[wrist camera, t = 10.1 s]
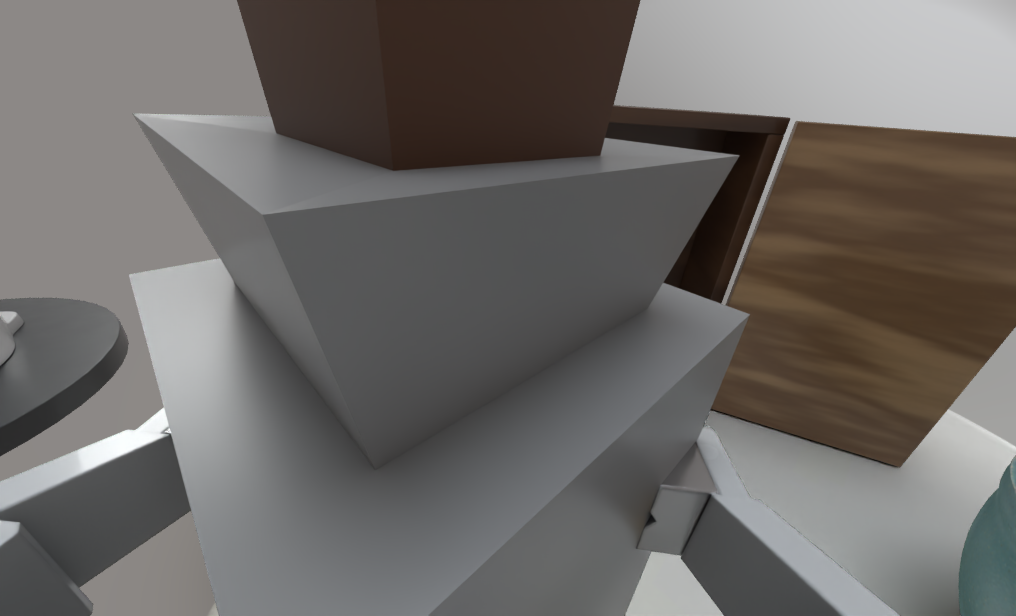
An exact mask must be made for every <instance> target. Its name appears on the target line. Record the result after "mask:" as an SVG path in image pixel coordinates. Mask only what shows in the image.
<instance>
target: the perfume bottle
mask: <svg viewBox="0 0 1016 616" xmlns="http://www.w3.org/2000/svg"><path fill="white" fill-rule="evenodd" d="M237 2H238V5H239V9H240V12H241V15H242V19H243V22H244V26H245V29H246V32H247V36H248V39H249V43H250V46H251V49H252V53H253V56H254V60H255V63H256V66H257V70H258V73H259V77H260V80H261V83H262V87H263V90H264V94H265V97H266V100H267V104H268V107H269V111H270V114H271V116H223V115H222V116H221V115H218V116H217V115H173V114H172V115H171V114H169V115H168V114H133V115H134V117H135V119H136V120H137V122H138V123H139V125H140V127H141V128H142V130H143V132H144V134H145V135H146V137H147V138H148V140H149V142H150V143H151V145H152V146H153V148H154V150H155V152H156V153H157V155H158V157H159V158H160V160H161V162H162V163H163V165H164V166H165V168H166V170H167V171H168V173H169V175H170V176H171V178H172V180H173V181H174V183H175V185H176V186H177V188H178V190H179V191H180V193H181V195H182V196H183V198H184V199H185V201H186V202H187V204H188V206H189V208H190V209H191V211H192V213H193V214H194V216H195V218H196V219H197V221H198V222H199V224H200V226H201V228H202V229H203V231H204V233H205V234H206V236H207V237H208V239H209V241H210V242H211V244H212V246H213V247H214V249H215V251H216V252H217V254H218V255H219V257H220V259H215V260H208V261H203V262H197V263H191V264H186V265H180V266H174V267H169V268H163V269H158V270H152V271H146V272H140V273H135V274H129V277H130V281H131V284H132V288H133V292H134V296H135V300H136V303H137V307H138V310H139V314H140V318H141V322H142V326H143V330H144V333H145V337H146V341H147V345H148V349H149V352H150V356H151V360H152V364H153V368H154V371H155V375H156V379H157V383H158V387H159V390H160V394H161V398H162V402H163V405H164V409H165V413H166V417H167V421H168V424H169V428H170V432H171V436H172V439H173V443H174V447H175V451H176V455H177V458H178V462H179V466H180V470H181V473H182V477H183V481H184V485H185V489H186V492H187V496H188V500H189V504H190V508H191V511H192V515H193V519H194V522H195V526H196V530H197V534H198V538H199V542H200V545H201V549H202V553H203V557H204V560H205V564H206V568H207V572H208V576H209V579H210V583H211V587H212V591H213V594H214V598H215V602H216V606H217V610H218V613H219V616H625V614H626V611H627V609H628V606H629V604H630V602H631V599H632V597H633V594H634V592H635V590H636V587H637V585H638V582H639V580H640V578H641V575H642V573H643V570H644V568H645V566H646V563H647V561H648V558H649V556H650V554H651V551H646V550H639V549H636V547H637V544H638V542H639V539H640V536H641V534H642V531H643V528H644V526H645V525H646V523H647V521H648V519H649V518H650V516H651V512H650V510H651V507H652V505H653V502H654V500H655V497H656V494H657V492H658V489H659V487H660V485H661V484H662V483H663V481H664V480H665V479H666V478H667V476H668V475H669V474H670V473H671V471H672V470H673V469H674V468H675V466H676V465H677V464H678V463H679V461H680V460H681V459H682V458H683V456H684V455H685V454H686V453H687V451H688V450H689V449H690V448H691V447H692V445H693V444H694V443H695V442H696V440H697V439H698V438H699V436H700V433H701V431H702V429H703V426H704V424H705V421H706V419H707V417H708V414H709V412H710V409H711V407H712V405H713V402H714V400H715V397H716V395H717V393H718V390H719V388H720V385H721V383H722V380H723V378H724V376H725V373H726V371H727V368H728V366H729V364H730V361H731V359H732V356H733V354H734V352H735V349H736V347H737V344H738V342H739V340H740V337H741V335H742V332H743V330H744V328H745V325H746V323H747V320H748V318H749V316H750V314H748V313H745V312H742V311H739V310H737V309H734V308H731V307H728V306H726V305H723V304H720V303H717V302H715V301H712V300H709V299H706V298H704V297H701V296H698V295H696V294H693V293H690V292H687V291H685V290H682V289H679V288H676V287H674V286H671V285H668V284H665V283H663V282H664V281H665V279H666V277H667V276H668V274H669V272H670V271H671V269H672V267H673V266H674V264H675V262H676V261H677V259H678V257H679V256H680V254H681V252H682V251H683V249H684V247H685V246H686V244H687V242H688V241H689V239H690V237H691V236H692V234H693V232H694V231H695V229H696V227H697V226H698V224H699V222H700V221H701V219H702V217H703V216H704V214H705V212H706V211H707V209H708V207H709V206H710V204H711V202H712V201H713V199H714V197H715V196H716V194H717V192H718V191H719V189H720V187H721V186H722V184H723V182H724V181H725V179H726V177H727V176H728V174H729V172H730V171H731V169H732V167H733V166H734V164H735V162H736V161H737V159H738V157H739V155H732V154H724V153H716V152H709V151H701V150H693V149H686V148H678V147H670V146H663V145H655V144H648V143H640V142H632V141H625V140H617V139H609V138H605V136H606V132H607V128H608V124H609V120H610V116H611V112H612V108H613V105H614V100H615V97H616V93H617V89H618V85H619V81H620V77H621V73H622V70H623V66H624V62H625V58H626V54H627V50H628V46H629V42H630V38H631V34H632V31H633V27H634V23H635V19H636V15H637V11H638V7H639V4H640V0H237Z"/></svg>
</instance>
